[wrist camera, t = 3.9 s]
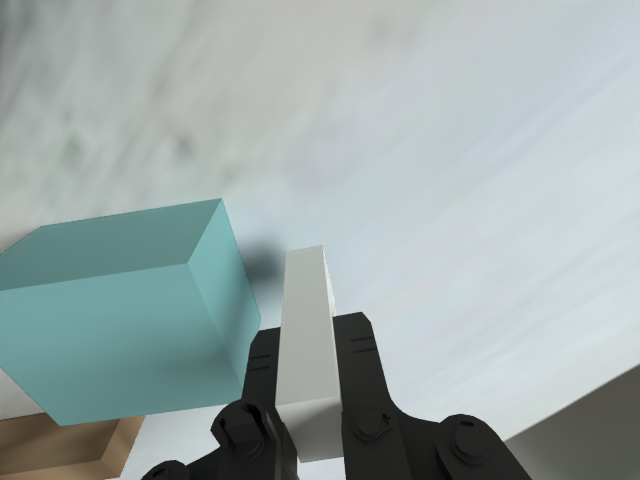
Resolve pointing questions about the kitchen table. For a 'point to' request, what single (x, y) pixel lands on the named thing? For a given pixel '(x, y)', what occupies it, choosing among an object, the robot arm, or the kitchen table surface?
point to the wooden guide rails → (65, 448)
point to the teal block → (128, 314)
